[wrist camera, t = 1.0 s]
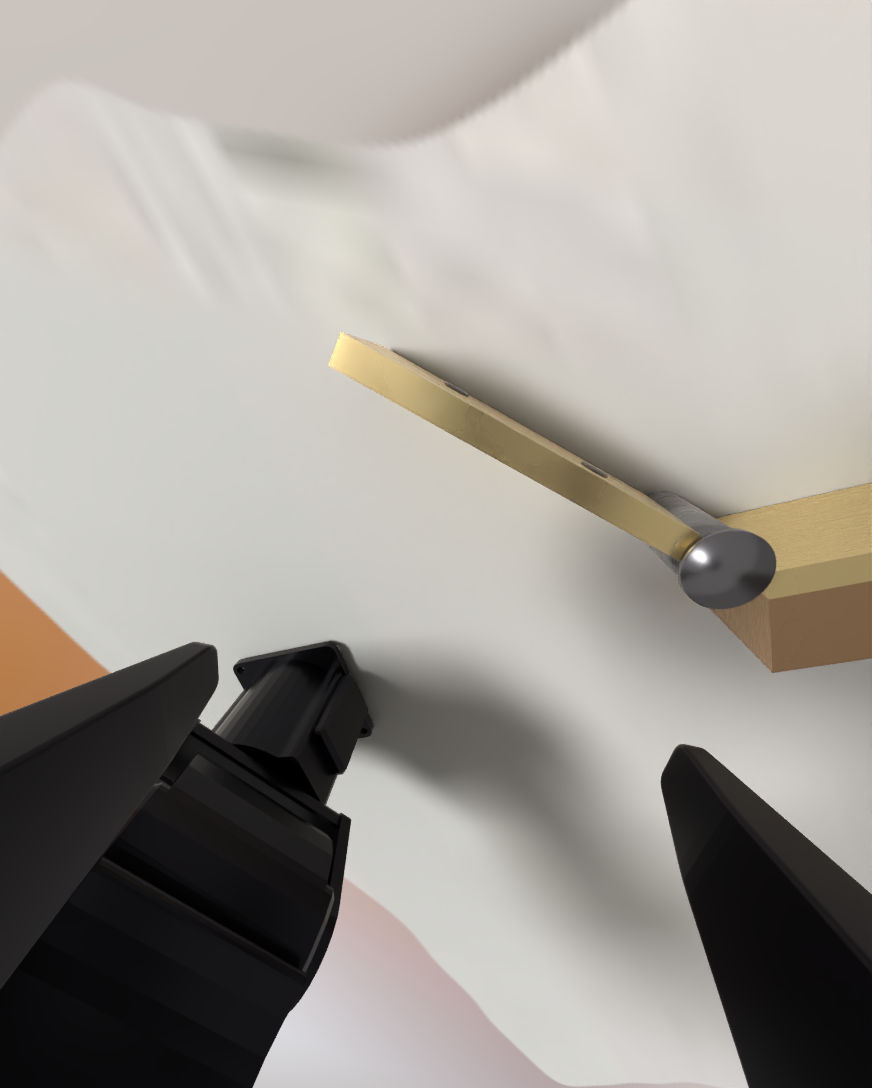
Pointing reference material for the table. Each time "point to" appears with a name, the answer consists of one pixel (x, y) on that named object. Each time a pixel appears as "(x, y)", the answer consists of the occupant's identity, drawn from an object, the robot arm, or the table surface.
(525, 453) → the swing leaf
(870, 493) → the block
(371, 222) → the table surface
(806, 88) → the table surface
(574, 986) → the table surface
